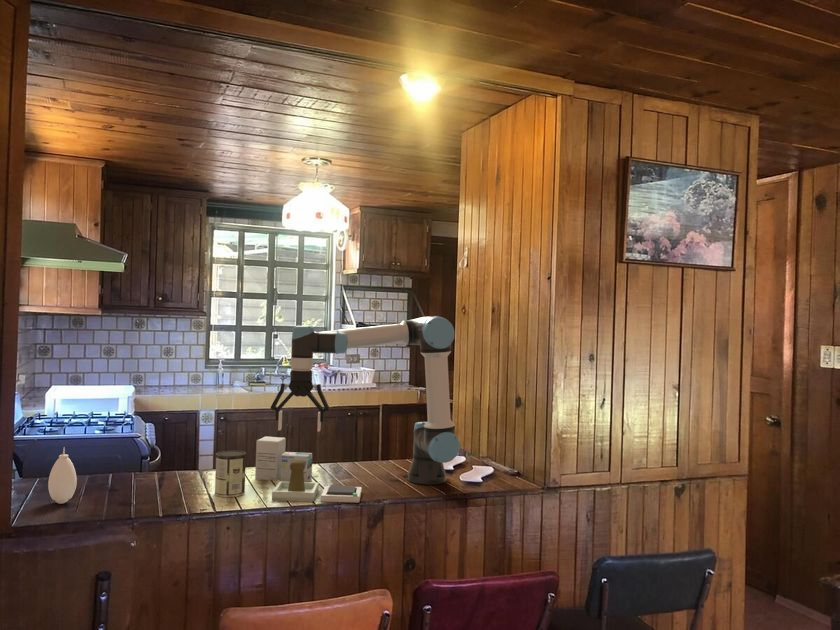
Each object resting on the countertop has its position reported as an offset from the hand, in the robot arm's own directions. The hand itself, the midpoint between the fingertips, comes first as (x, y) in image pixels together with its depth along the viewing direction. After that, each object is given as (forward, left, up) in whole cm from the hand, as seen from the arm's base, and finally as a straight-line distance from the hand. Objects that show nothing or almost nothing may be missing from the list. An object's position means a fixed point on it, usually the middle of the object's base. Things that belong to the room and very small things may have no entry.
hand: (299, 430), depth 229 cm
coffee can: (+23, 0, -23) cm, 33 cm away
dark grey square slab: (-16, 0, -21) cm, 27 cm away
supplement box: (+14, -25, -23) cm, 37 cm away
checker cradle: (-16, 0, -23) cm, 28 cm away
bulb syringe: (+72, +17, -23) cm, 78 cm away
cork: (0, 0, -22) cm, 22 cm away
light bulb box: (+3, -19, -23) cm, 30 cm away
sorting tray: (0, 0, -23) cm, 23 cm away
